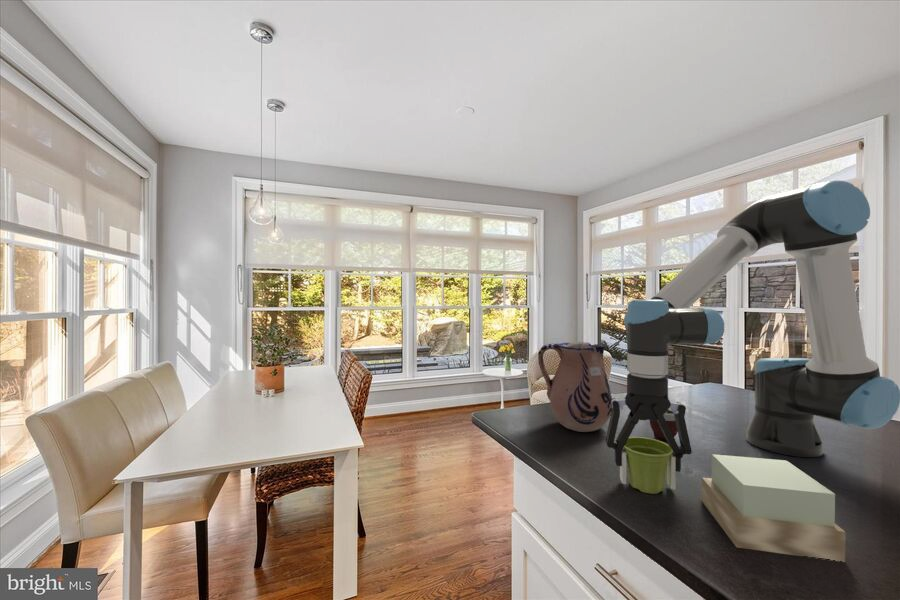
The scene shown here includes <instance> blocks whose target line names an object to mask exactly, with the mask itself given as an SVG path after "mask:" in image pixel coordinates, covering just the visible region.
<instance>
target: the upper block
mask: <svg viewBox="0 0 900 600" xmlns="http://www.w3.org/2000/svg"><path fill="white" fill-rule="evenodd" d="M711 478H712V481H713V483H714V484H715V485H716V486H717V487H718V488H719V489H720V490H721V492H722V493H723V494H724V495H725V496H726V497H727V498H728V499H729V500H730V502H731V503H732V504H733V505H734V506H735V507H736V508H737V509H738V511H739V512H740V513H741V514H742V515H743V516H748V517H756V518H765V519H773V520H781V521H790V522H798V523H807V524H815V525H824V526H833V527H835V524H836V523H835V522H836V520H835V519H836V518H835V517H836V515H835V514H836V513H835V512H836V493H834V492H833V491H831V490H830V489H829V488H827V487H826V486H824V485H823V484H821V483H819V482H818V481H817V480H816V479H814V478H812V477H811V476H810V475H808V474H806V472H804V471H802V470H801V469H799V468H798V467H796V466H795V465H794V464H792V463H791V462H789V461H788V460H784V459H773V458H763V457H751V456H750V457H749V456H737V455H727V454H726V455H724V454H716V453H715V454H711Z"/></svg>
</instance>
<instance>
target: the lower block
mask: <svg viewBox="0 0 900 600" xmlns="http://www.w3.org/2000/svg"><path fill="white" fill-rule="evenodd" d="M701 502H702V503H703V504H704V506H705V508H706V509H707V510H708V511H709V512H710V514H711V516H713V518H714V520H715V521H716V522H717V523H718V524H719V526H720V527H721V528H722V530H723V531H724V532H725V534H726V536H727V537H728V538H729V539H730V541H731V542H732V544H733V545H734V546H735V547H736V548H740V549H747V550H753V551H761V552H768V553H774V554H775V553H776V554H783V555H788V556H789V555H790V556H798V557H803V556H808V557H807V558H811V557H816V558H815V559H818V558H825V559H830V560H829V561H833V560H835V561H834V562H840V561H842V563H846V531H845V530H844V529H842V528H841V527H840V526H839V525H838V524H837V523H835V527H833V526H824V525H815V524H807V523H798V522H790V521H781V520H773V519H765V518H756V517H748V516H743V515H742V514H741V513H740V512H739V511H738V509H737V508H736V507H735V506H734V505H733V504H732V503H731V502H730V500H729V499H728V498H727V497H726V496H725V495H724V494H723V493H722V492H721V490H720V489H719V488H718V487H717V486H716V485H715V484H714V483H713V481H712V477H711V478H710V477H701ZM817 557H818V558H817ZM825 559H824V560H825Z"/></svg>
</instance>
